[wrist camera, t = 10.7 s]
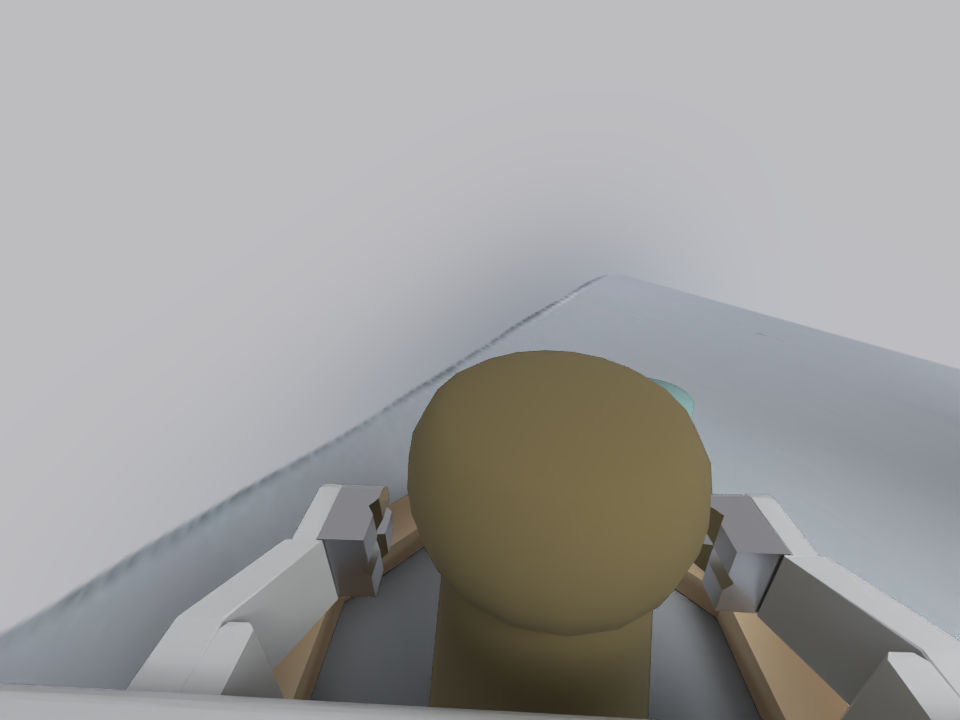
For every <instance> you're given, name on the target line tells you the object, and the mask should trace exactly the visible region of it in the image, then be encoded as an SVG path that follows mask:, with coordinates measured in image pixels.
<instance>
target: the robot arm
mask: <svg viewBox="0 0 960 720" xmlns="http://www.w3.org/2000/svg"><path fill="white" fill-rule="evenodd" d="M389 499H390V497H389V492H388V488H387V487H386V486H373V485H353V484H345V485H343V484H324V485H323V486H321V487H320V488H319V490H318V492H317V494H316V495H315V497H314V499H313V501H312V503H311V505H310V506H309V508H308V510H307V512H306V514H305V515H304V517H303V519H302V521H301V523H300V525H299V526H298V528H297V530H296V532H295V534H294V535H293V537H292V539H285V540H283V541H282V542H280V543H279V544H278V545H276V546H275V547H273V548H272V549H271V550H269V551H268V552H266V553H265V554H264V555H262V556H261V557H259V558H258V559H257V560H255V561H254V562H253V563H251V564H250V565H248V566H247V567H246V568H244V569H243V570H241V571H240V572H239V573H237V574H236V575H234V576H233V577H232V578H230V579H229V580H227V581H226V582H225V583H223V584H222V585H221V586H219V587H218V588H216V589H215V590H214V591H212V592H211V593H209V594H208V595H207V596H205V597H204V598H202V599H201V600H200V601H198V602H197V603H195V604H194V605H193V606H191V607H190V608H189V609H187V610H186V611H184V612H183V613H182V614H180V615H179V616H177V617H176V619H175V620H174V622H173V623H172V624H171V626H170V627H169V629H168V630H167V632H166V633H165V634H164V636H163V637H162V639H161V640H160V642H159V643H158V644H157V646H156V647H155V649H154V650H153V651H152V653H151V654H150V656H149V657H148V659H147V660H146V661H145V663H144V664H143V666H142V667H141V669H140V670H139V671H138V673H137V674H136V676H135V677H134V678H133V680H132V681H131V683H130V684H129V686H128V687H127V688H126V690H120V689H102V688H85V687H67V686H50V685H33V684H15V683H0V720H655V719H638V718H620V717H603V716H585V715H567V714H549V713H531V712H513V711H495V710H477V709H459V708H441V707H423V706H405V705H387V704H369V703H352V702H334V701H316V700H298V699H284V697H283V694H282V691H281V689H280V687H279V685H278V682H277V680H276V678H275V676H274V674H273V670H274V668H275V667H276V666H277V665H278V664H279V663H280V662H281V661H282V660H283V659H284V658H285V656H286V655H287V654H288V653H289V652H290V651H291V650H292V649H293V648H294V647H295V646H296V644H297V643H298V642H299V641H300V640H301V639H302V638H303V637H304V636H305V635H306V634H307V632H308V631H309V630H310V629H311V628H312V627H313V626H314V625H315V624H316V623H317V622H318V620H319V619H320V618H321V617H322V616H323V615H324V614H325V613H326V612H327V611H328V610H329V608H330V607H331V606H332V605H333V604H334V603H335V602H336V601H337V600H338V596H347V597H376V594H377V590H378V587H379V583H380V580H381V577H382V573H383V570H384V569H383V564H382V558H383V557H384V556H385V555H386V554H387V553H389V549H390V545H391V542H392V534H393V515H392V511H391V510H390V509H389V508H388V507H387V505H388V502H389ZM694 564H695V565H697V566H698V567H699V568H700V569H701V570H703V571H704V572H705V573H704V576H703V579H702V583H703V585H704V587H705V589H706V592H707V594H708V596H709V598H710V600H711V603H712V605H713V607H714V609H715V611H728V612H742V613H757V616H758V617H759V618H760V619H761V620H762V621H763V622H764V623H765V624H766V625H767V626H768V627H769V628H770V629H771V630H772V631H773V632H774V633H775V634H776V635H777V636H778V637H779V638H780V639H781V640H782V641H784V642H785V643H786V644H787V645H788V646H789V647H790V648H791V649H792V650H793V651H794V652H795V653H796V654H797V655H798V656H799V657H800V658H801V659H802V660H803V661H804V662H805V663H806V664H807V665H808V666H809V667H810V668H811V669H812V670H813V671H814V672H816V673H817V674H818V675H819V676H820V677H821V678H822V679H823V680H824V681H825V682H826V683H827V684H828V685H829V686H830V687H831V688H832V689H833V690H834V691H835V692H836V693H837V694H838V695H839V696H840V697H841V698H842V699H843V700H844V701H845V702H846V703H847V704H849V707H848V708H847V710H846V711H845V712H844V714H843V715H842V716H841V718H840V719H839V720H960V641H959V640H957V639H956V638H954V637H953V636H951V635H949V634H948V633H946V632H945V631H943V630H941V629H940V628H938V627H937V626H935V625H934V624H932V623H930V622H929V621H927V620H926V619H924V618H923V617H921V616H919V615H918V614H916V613H915V612H913V611H912V610H910V609H908V608H907V607H905V606H904V605H902V604H900V603H899V602H897V601H896V600H894V599H893V598H891V597H889V596H888V595H886V594H885V593H883V592H882V591H880V590H878V589H877V588H875V587H874V586H872V585H871V584H869V583H867V582H866V581H864V580H863V579H861V578H860V577H858V576H856V575H855V574H853V573H852V572H850V571H848V570H847V569H845V568H844V567H842V566H841V565H839V564H837V563H836V562H834V561H833V560H831V559H830V558H828V557H821V556H819V555H818V554H817V553H816V552H815V550H814V549H813V548H812V546H811V545H810V544H809V542H808V541H807V540H806V539H805V537H804V536H803V535H802V533H801V532H800V531H799V529H798V528H797V527H796V526H795V524H794V523H793V522H792V520H791V519H790V518H789V516H788V515H787V514H786V513H785V511H784V510H783V509H782V507H781V506H780V505H779V503H778V502H777V501H776V500H775V498H773V497H772V496H770V495H769V494H744V495H743V494H712V497H711V508H710V519H709V528H708V531H707V534H706V537H705V540H704V542H703V545H702V548H701V551H700V554H699V555H698V557H697V558H696V560H695V561H694Z"/></svg>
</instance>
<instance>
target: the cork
mask: <svg viewBox="0 0 960 720" xmlns="http://www.w3.org/2000/svg"><path fill="white" fill-rule="evenodd" d="M407 489H408V495H409V502H410V508H411V514H412V516H413V519H414V521H415V524H416V526H417V528H418V531H419V533H420V536H421V538H422V541H423V543H424V546H425V548H426V550H427V552H428V554H429V556H430V558H431V559H432V561H433V563H434V565H435V567H436V569H437V570H438V571H439V572H440V574H441V584H440V594H439V605H438V615H437V626H436V636H435V647H434V657H433V668H432V678H431V689H430V699H429V707H441V708H459V709H477V710H495V711H513V712H531V713H549V714H567V715H585V716H603V717H620V718H638V719H648V709H649V685H650V662H651V638H652V615H653V610H654V609H655V608H657V607H659V606H660V605H661V604H662V603H663V602H664V600H665V599H666V598H667V597H668V596H669V595H670V594H671V593H672V592H673V591H674V590H675V589H676V587H677V586H678V584H679V583H680V581H681V580H682V579H683V577H684V576H685V574H686V573H687V571H688V570H689V568H690V567H691V566H692V564H693V563H694V561H695V560H696V558H697V557H698V555H699V554H700V551H701V548H702V545H703V542H704V540H705V537H706V534H707V531H708V528H709V519H710V508H711V497H712V480H711V463H710V460H709V458H708V456H707V453H706V451H705V449H704V446H703V444H702V442H701V439H700V437H699V435H698V432H697V430H696V428H695V426H694V424H693V422H692V420H691V418H690V416H689V414H688V412H687V410H686V409H685V408H684V407H683V406H682V405H681V404H680V403H679V402H678V401H677V400H676V399H675V398H674V397H673V396H672V395H671V394H670V393H669V392H668V391H667V390H666V389H665V388H663V387H662V386H660V385H658V384H657V383H655V382H653V381H651V380H650V379H648V378H646V377H645V376H643V375H641V374H640V373H638V372H636V371H634V370H632V369H630V368H628V367H626V366H623V365H620V364H617V363H615V362H612V361H609V360H606V359H604V358H600V357H595V356H590V355H585V354H580V353H575V352H564V351H548V350H542V351H529V352H516V353H512V354H508V355H504V356H499V357H495V358H491V359H488V360H486V361H483V362H481V363H479V364H476V365H474V366H472V367H470V368H468V369H465V370H463V371H461V372H459V373H457V374H456V375H454V376H453V377H452V378H451V379H450V380H448V381H447V382H446V383H445V384H444V385H442V386H441V387H440V388H439V389H438V390H437V391H436V393H435V395H434V396H433V398H432V399H431V401H430V403H429V404H428V406H427V408H426V409H425V411H424V413H423V415H422V417H421V419H420V420H419V422H418V424H417V426H416V428H415V430H414V431H413V435H412V441H411V447H410V452H409V463H408V486H407Z"/></svg>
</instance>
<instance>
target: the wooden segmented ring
mask: <svg viewBox="0 0 960 720" xmlns="http://www.w3.org/2000/svg"><path fill="white" fill-rule="evenodd" d="M388 508H389V509H390V510H391V511H392V515H393V534H392V542H391V545H390V549H389V553H387V554H386V555H385V556H384V557H383V558H382V564H383V569H384V570H383V573H382V576H383V575H384V574H386V573H387V572H389V571H390V570H392V569H393V568H394V567H396V566H397V565H399V564H400V563H402V562H403V561H404V560H406V559H407V558H409V557H410V556H411V555H413V554H414V553H416V552H417V551H419V550H420V549H421V548H423V547H424V543H423V541H422V538H421V536H420V533H419V531H418V528H417V526H416V524H415V521H414V519H413V516H412V514H411V508H410V502H409V495H406V496H404V497H403V498H401V499H399V500H398V501H396V502H394V503H393V504H391V505H389V506H388ZM704 573H705V572H704V571H703V570H701V569H700V568H699V567H698V566H697V565H695V564H694V563H693V564H692V566H691V567H690V568H689V570H688V571H687V573H686V574H685V576H684V577H683V579H682V580H681V581H680V583H679V584H678V586H677V587H676V590H677V591H679V592H680V593H682V594H683V595H684V596H686V597H687V598H689V599H690V600H692V601H693V602H694V603H696V604H697V605H699V606H700V607H701V608H703V609H704V610H706V611H707V612H708V613H710V614H711V615H713V616H714V617H716V618H717V620H718V622H719V624H720V627H721V629H722V631H723V633H724V636H725V638H726V640H727V642H728V645H729V647H730V649H731V651H732V654H733V656H734V658H735V660H736V663H737V665H738V667H739V669H740V672H741V674H742V676H743V678H744V680H745V683H746V685H747V687H748V689H749V692H750V694H751V696H752V698H753V701H754V703H755V705H756V707H757V710H758V712H759V714H760V716H761V719H762V720H839V719H840V718H841V716H842V715H843V714H844V712H845V711H846V710H847V708H848V707H849V706H848V705H847V703H846V702H845V701H844V700H843V699H842V698H841V697H840V696H839V695H838V694H837V693H836V692H835V691H834V690H833V689H832V688H831V687H830V686H829V685H828V684H827V683H826V682H825V681H824V680H823V679H822V678H821V677H820V676H819V675H818V674H817V673H816V672H814V671H813V670H812V669H811V668H810V667H809V666H808V665H807V664H806V663H805V662H804V661H803V660H802V659H801V658H800V657H799V656H798V655H797V654H796V653H795V652H794V651H793V650H792V649H791V648H790V647H789V646H788V645H787V644H786V643H785V642H784V641H782V640H781V639H780V638H779V637H778V636H777V635H776V634H775V633H774V632H773V631H772V630H771V629H770V628H769V627H768V626H767V625H766V624H765V623H764V622H763V621H762V620H761V619H760V618H759V617H758V616H757V613H742V612H728V611H715V609H714V607H713V605H712V603H711V600H710V598H709V596H708V594H707V592H706V589H705V587H704V585H703V583H702V579H703V576H704ZM350 598H352V597H347V596H338V600H337V601H336V602H335V603H334V604H333V605H332V606H331V607H330V608H329V610H328V611H327V612H326V613H325V614H324V615H323V616H322V617H321V618H320V619H319V620H318V622H317V623H316V624H315V625H314V626H313V627H312V628H311V629H310V630H309V631H308V632H307V634H306V635H305V636H304V637H303V638H302V639H301V640H300V641H299V642H298V643H297V644H296V646H295V647H294V648H293V649H292V650H291V651H290V652H289V653H288V654H287V655H286V656H285V658H284V659H283V660H282V661H281V662H280V663H279V664H278V665H277V666H276V667H275V668H274V670H273V674H274V676H275V678H276V680H277V682H278V685H279V687H280V689H281V691H282V694H283V697H284V699H298V700H310V698H311V695H312V692H313V689H314V686H315V684H316V681H317V678H318V675H319V672H320V669H321V667H322V664H323V661H324V658H325V655H326V653H327V650H328V647H329V644H330V641H331V638H332V636H333V633H334V630H335V627H336V624H337V621H338V619H339V616H340V613H341V610H342V607H343V604H344V603H345V602H346V601H347V600H349V599H350Z"/></svg>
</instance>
